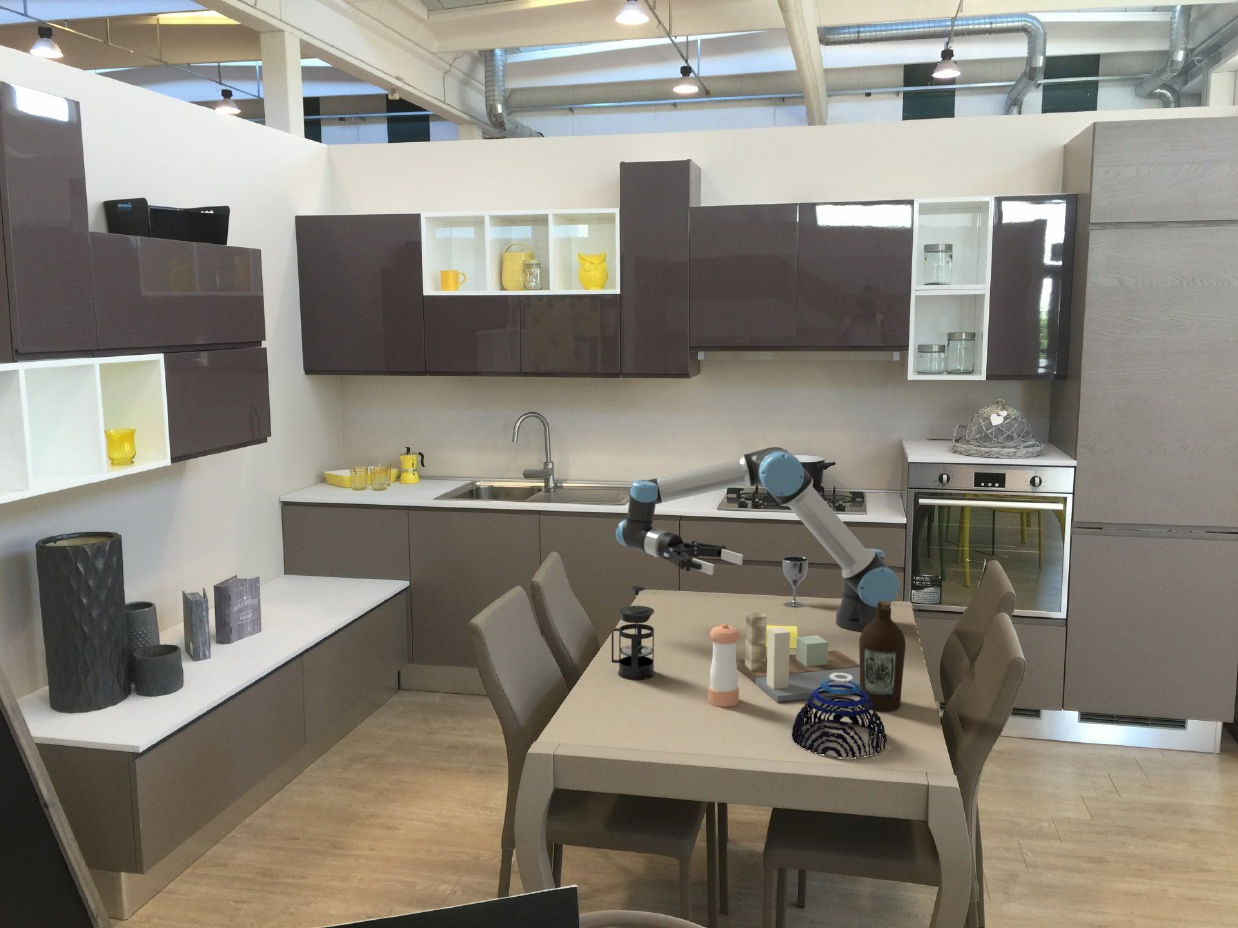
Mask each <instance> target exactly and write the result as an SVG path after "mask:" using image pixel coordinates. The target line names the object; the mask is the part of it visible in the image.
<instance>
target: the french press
mask: <svg viewBox="0 0 1238 928" xmlns="http://www.w3.org/2000/svg"><path fill="white" fill-rule="evenodd" d="M628 590H629V591H631V592H634V595H635V605H627V606H624V607H621V608H620V609H619V610H618V612H619V614H620V620H621V621H622V622H625V623H628V624H625V625H621V626H619V627H613V628H612V629H611V663H612V664H619V665H618V672H617V673H618V676H619V677H620V678H622V679H626V680H629V681H630V680H631V681H641V680H648V679H652V678H653V677H654V676H655V668H654V667H655V665H654V664H655V663H654V661H655V628H654V627H653V626H651V625H648V624H644V623H646V622H648V621H650V618H651V616H652V615H653V614H655V609H653V608H652V607H650V606H646V605H638V596H639V593H640V592H642V591H645V590H646V587H643V586H639V585H633V586H630V587H629V588H628ZM627 630H634V633H627V632H624V631H627ZM642 630H646V631H649V632H646V633H642ZM615 632H618V636H619V637H618V646H619V647H618V648H619V649H618V659H614V654H615V653H614V650H615V648H614V647H615V646H614V645H615V643H614V642H615V641H614V639H615V637H614V634H615ZM621 638H624V639H629V640H630V641H631V642H630V643H631V644H629V645H625V646H622V644H621V643H622V640H621ZM650 638H652V647H651V646H648V645H644V644H643V643H642V642H643V641H642V640H644V639H645V640H646V639H650ZM621 646H622V647H621ZM621 655H623V656H624V657H621ZM650 655H652V658H651V657H649V656H650Z"/></svg>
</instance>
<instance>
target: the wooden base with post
mask: <svg viewBox="0 0 1238 928" xmlns="http://www.w3.org/2000/svg"><path fill="white" fill-rule="evenodd" d="M767 617H768V616H767V615H765V614H764V613H763V612H761V611H759V612H757V611H756V612H746V613H745V645H744V647H745V649H744V651H745V652H744V653H745V654H744V655H745V656H744V658H743V659H742V658H741V659H736V664H737V670H739V671H740V672H741V673H742V674H744V675H745V676H746V678H747V677H748V679H750V681H752V682H753V683H755V678H757V677H766V676H767V630H768V627H767V622H768V621H767V620H768V619H767ZM853 667H860V663H859V662H856V661H855V660H853V659H851V658H850V657H848V656H847V655H846V654H844V653H842V652H841V651H840V650H838V649H837V650H835V649H834V650H828V655H827V664H825V665H816V666H805V665H804V664H802V663H801V662H799V661H798V660H797V659H796V653H794V654H789V674H795V673H805V672H814V671H824V670H834V669H843V668H853ZM755 684H756V683H755Z"/></svg>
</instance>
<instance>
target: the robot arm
mask: <svg viewBox="0 0 1238 928" xmlns="http://www.w3.org/2000/svg"><path fill="white" fill-rule="evenodd" d="M743 485H746V486H747V487H750V488H751V487H753V486H763V488H764V489H765V490H766V491H768V493H770V495H771V496H772V497H773V498H774V499H775V500H776V501H777V503H778V504H779V505H780V506H782V507H789V509H790V510H792V512H793V513H794V514H795V515H796V517H797V518H798V519H799V520H800V521H801V522H802V523H803V524H804V526H805V527H806V528H807V529H808V531H810V533H811V534H812V535H813V536H814V537H815V539H816V540H817V541H818V543H819V544H821V545H822V546H823V548H824V549H825V550H826V551H827V552H828V554H829V555H830V556H831V558H833V560H834V561H835V562H836V563H837V564H838V565H839V567H840V568H841V577H842V578H843V579H842V599H841V601H840V604H839V606H838V609H837V612H836V615H835V624H836V625H837V626H838V627H840V628H842V629H846V630H849V631H856V632H862V631H863V629H864V628H865V627H866V626H867V625H868V624H869V623H871V622H872V621H873V620H874V619H875V618H876V608H877V602H878V601H888V602H890V603H891V604H892V602H893V601H894V600H895V599H896V597H897V596H898V594H899V593H900V581H899V580H900V579H899V578H898V576H897V574H896V573H895V571H894V570H892V569H891V568H890V567H889V566H888V565H887V564H886V563H885V559H886V557H885V552H884V551H883V550H882V549H877V548H866V547H864V545H863V544H862V543H861V542H860V541H859V539H858V538H857V537H856V536H855V534H853V532H852V531H851V529H849V527H847V525H846V524H845V523H844V522H843V521H842V520H841V518H840V517H839V516H838V515H837V514H836V513H835V511H834V510H833V509H832V508H831V507H830V506H829V504H828V503H827V502H826V501H825V500H824V498H823V497H822V496H821V495H820V494H819V493H818V491H817V490H816V489H815V487H813V486H814V478H813V477H812V476H811V474H810V473H808V472H807V470H806V469H805V468H804V466H803V465H802V462H801V461H800V460H799V459H798V458H797V456H795V455H793V454H792V453H790V452H789V451H787V449H785V448H782V447H779V446H778V447H777V446H770V447H766V448H763V449H760V450H757V451H753V452H749V453H744V454H742V455H741V456H740V458H739V459H734V460H729V461H725V462H720V463H717V464H712V465H707V466H704V467H699V468H695V469H691V470H687V471H682V472H677V473H673V474H669V475H664V476H660V477H656V478H655V477H654V478H651V479H647V480H646V479H637V480H634V481H633V482H632V484H631V486H630V487H629V491H628V499H629V500H628V501H629V502H628V509H627V517H626V519H623V520H622V521H620V522H619V523H618V524H617V525H618V526H617V528H616V529H615V538H616V541H617V542H618V543H619V545H622V546H624V547H626V548H628V549H631V550H635V551H638V552H642V553H645V554H647V555H651V556H653V558H660V559H662V560H666V561H668V562H670V563H672V564H673V565H674V566H676V567H677V568H678V569H680V570H685V571H686V572H690V571H691V570H694V571H698V572H700V573H701V572H702V573H704V574H707V575H709V576H713V575H714V570H715V564H713V563H709V562H707V561H704V560H700V559H697V558H699V557H711V558H720V559H721V560H724V561H725V562H729V563H731V564H732V563H733V564H736V565H740V566H742V565H743V561H744V560H743V559H744V555H743V554H741V553H738V552H734V551H730V550H727V546H725V545H719V544H710V543H704V542H698V541H695V540H692V541H691V542H685V541H683V538H682V537H681V536H680V534H676V533H673V532H669V531H666V530H665V529H660V528H657V527H653V524H654V516H655V511H656V505H659V504H663V503H667V502H672V501H676V500H680V499H681V500H682V499H684V498H690V497H693V496H698V495H702V494H703V495H704V494H707V493H711V492H716V491H722V490H725V489H729V488H734V487H739V486H743ZM691 558H692V559H691Z"/></svg>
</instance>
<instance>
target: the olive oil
mask: <svg viewBox="0 0 1238 928" xmlns="http://www.w3.org/2000/svg"><path fill="white" fill-rule="evenodd" d="M891 607H892V602H891V603H890V602H888V601H878V602H877V608H876V618H875V619H874V620H873V621H872V622H871V623H869V624H868V625H867V626H866V627H865V628H864V629H863V631H861V634H860V636H859V642H858V643H859V644H858V647H859V648H858V650H859V651H858V652H859V654H858V655H859V665H860V690H863V691H864V692H865V693H866V694H867V696H868V697H869V699H871V701H872V708H871V710H872V711H873V709H874V711H875V710H876V712H894V711H896V710H898V709H899V708H900V707H901V702H902V700H901V699H902V688H903V677H904V668H905V667H904V666H905V656H906V655H905V654H906V647H907V645H906V639H905V635H904V633H903V630H901V628H900V627H899V626H898V625H897V624H896V623H895V621H894V620H893V619H892V617H891V616H892V608H891ZM859 694H862V693H861V692H860V693H859ZM859 699H861V698H860V697H859ZM862 705H863V704H862ZM864 706H865V707H866V708H867V707H868V706H869V702H867V703H864ZM871 710H870V711H871Z"/></svg>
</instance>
